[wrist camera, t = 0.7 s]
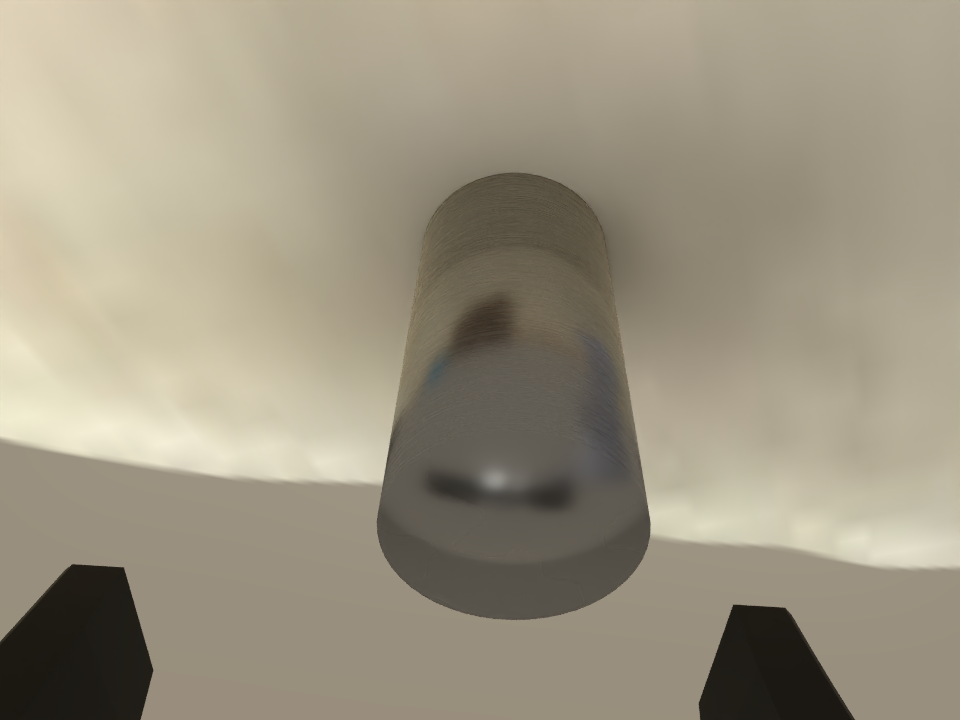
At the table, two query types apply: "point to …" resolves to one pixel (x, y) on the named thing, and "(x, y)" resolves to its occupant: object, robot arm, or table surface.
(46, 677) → the robot arm
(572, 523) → the peg
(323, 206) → the table surface
